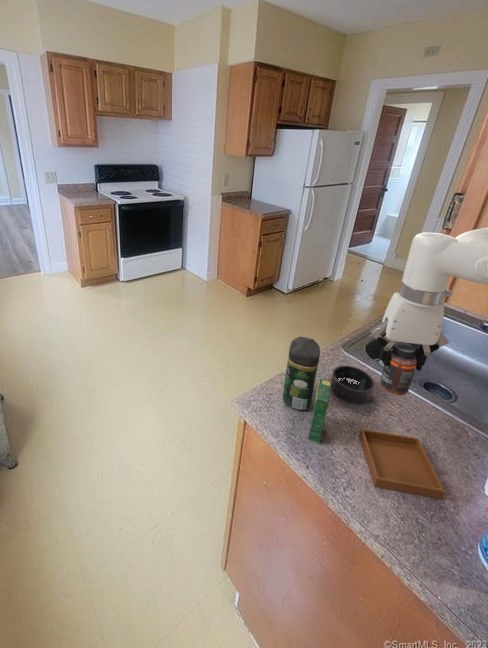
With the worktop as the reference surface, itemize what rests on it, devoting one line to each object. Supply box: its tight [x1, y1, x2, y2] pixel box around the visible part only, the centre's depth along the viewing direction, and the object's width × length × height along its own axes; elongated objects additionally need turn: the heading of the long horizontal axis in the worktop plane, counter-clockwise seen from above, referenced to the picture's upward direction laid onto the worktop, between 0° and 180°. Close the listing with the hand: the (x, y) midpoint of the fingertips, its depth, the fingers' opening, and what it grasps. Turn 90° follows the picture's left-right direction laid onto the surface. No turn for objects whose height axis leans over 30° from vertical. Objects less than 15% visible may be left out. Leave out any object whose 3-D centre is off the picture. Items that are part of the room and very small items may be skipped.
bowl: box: [330, 365, 375, 406], centre depth 94 cm, size 11×11×4 cm
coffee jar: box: [282, 336, 321, 411], centre depth 88 cm, size 10×8×19 cm
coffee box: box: [307, 378, 331, 444], centre depth 79 cm, size 8×3×13 cm, turn 155°
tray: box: [358, 428, 446, 501], centre depth 73 cm, size 13×13×2 cm
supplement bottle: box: [379, 342, 417, 396], centre depth 73 cm, size 6×6×11 cm
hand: (400, 364), depth 73 cm, fingers closed on supplement bottle, 6 cm apart
